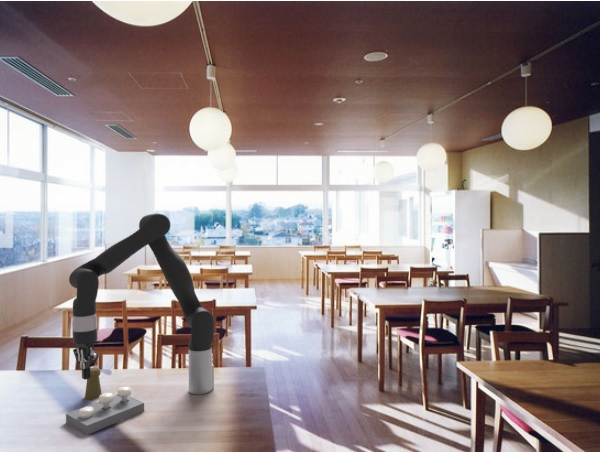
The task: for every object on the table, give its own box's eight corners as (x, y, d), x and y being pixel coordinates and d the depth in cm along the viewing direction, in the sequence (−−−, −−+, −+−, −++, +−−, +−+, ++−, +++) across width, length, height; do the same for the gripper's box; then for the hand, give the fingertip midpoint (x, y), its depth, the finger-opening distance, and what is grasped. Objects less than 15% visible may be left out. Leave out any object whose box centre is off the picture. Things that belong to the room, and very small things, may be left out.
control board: (122, 400, 165) (122, 393, 165) (144, 410, 156) (144, 402, 156) (66, 422, 148) (65, 413, 148) (86, 434, 139) (86, 425, 139)
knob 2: (126, 398, 161) (126, 385, 161) (133, 401, 158) (133, 388, 158) (115, 402, 157) (115, 389, 157) (122, 405, 155) (122, 392, 154)
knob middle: (108, 405, 155) (108, 391, 155) (115, 408, 152) (115, 394, 152) (96, 409, 151) (96, 396, 151) (103, 413, 149) (103, 399, 149)
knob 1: (89, 419, 149) (89, 405, 149) (96, 423, 147) (96, 409, 147) (76, 424, 146) (76, 410, 146) (83, 428, 143) (83, 413, 143)
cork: (95, 400, 165) (94, 371, 165) (81, 398, 166) (80, 370, 166) (105, 393, 171) (104, 366, 171) (91, 392, 172) (91, 365, 172)
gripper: (106, 328, 144) (107, 379, 145) (86, 322, 152) (87, 370, 153) (83, 333, 138) (85, 386, 139) (64, 327, 146) (65, 377, 147)
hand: (86, 378), depth 146 cm, fingers closed
